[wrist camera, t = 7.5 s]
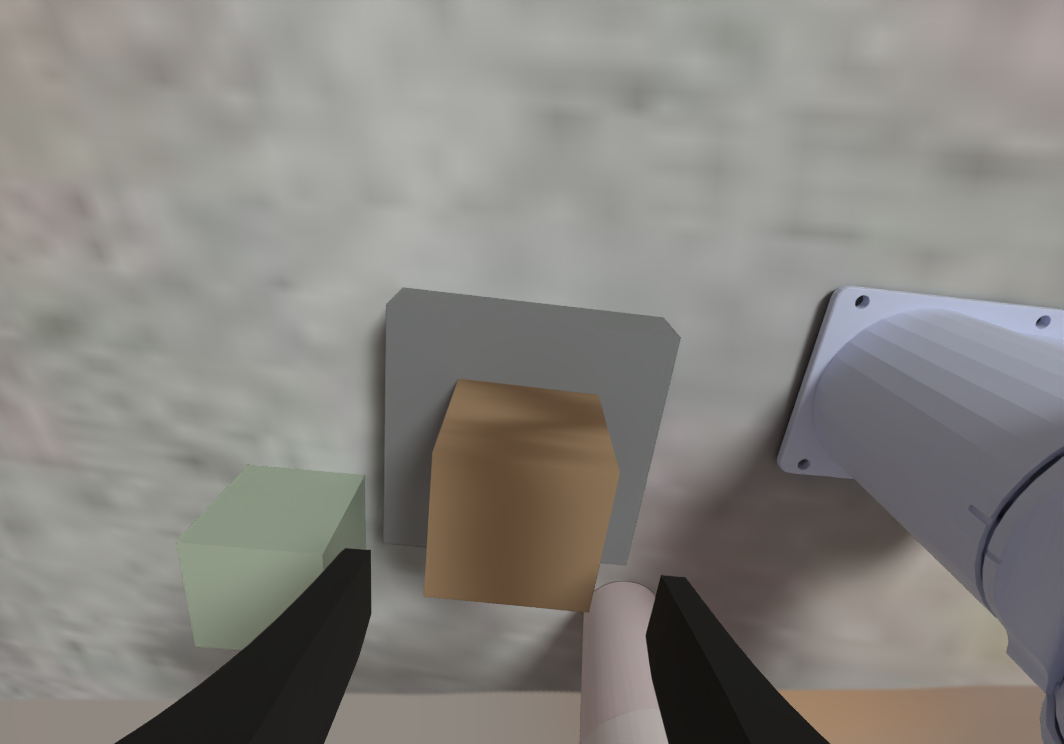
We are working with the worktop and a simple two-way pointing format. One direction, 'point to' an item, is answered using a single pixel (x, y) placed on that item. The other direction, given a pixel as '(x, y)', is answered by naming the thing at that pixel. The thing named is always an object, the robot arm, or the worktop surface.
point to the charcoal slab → (525, 360)
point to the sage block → (265, 548)
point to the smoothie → (618, 669)
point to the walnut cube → (519, 497)
